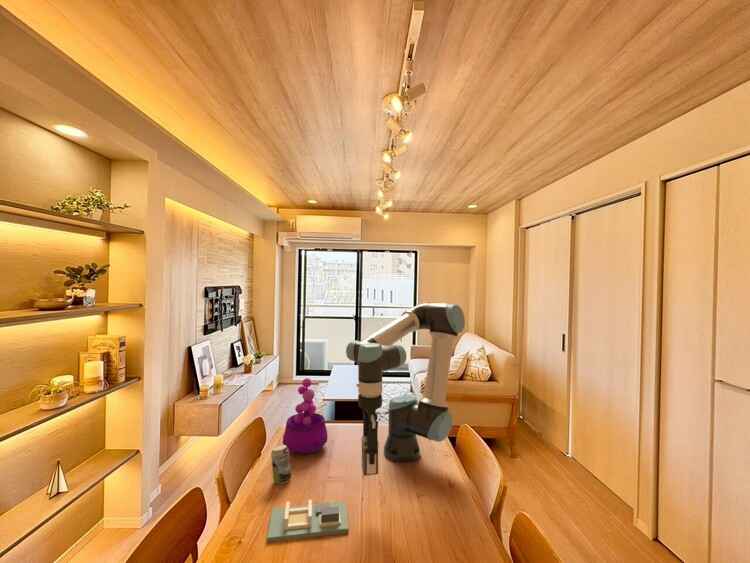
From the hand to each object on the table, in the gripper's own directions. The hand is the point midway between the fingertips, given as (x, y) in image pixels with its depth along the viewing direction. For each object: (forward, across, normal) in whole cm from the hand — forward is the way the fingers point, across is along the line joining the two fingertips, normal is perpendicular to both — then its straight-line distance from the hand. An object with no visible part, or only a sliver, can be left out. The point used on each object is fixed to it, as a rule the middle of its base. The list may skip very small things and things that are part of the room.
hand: (369, 468), depth 103 cm
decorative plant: (+13, -42, -21) cm, 49 cm away
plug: (+1, 0, 0) cm, 1 cm away
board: (+12, +3, -19) cm, 22 cm away
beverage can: (+13, -20, -29) cm, 37 cm away
